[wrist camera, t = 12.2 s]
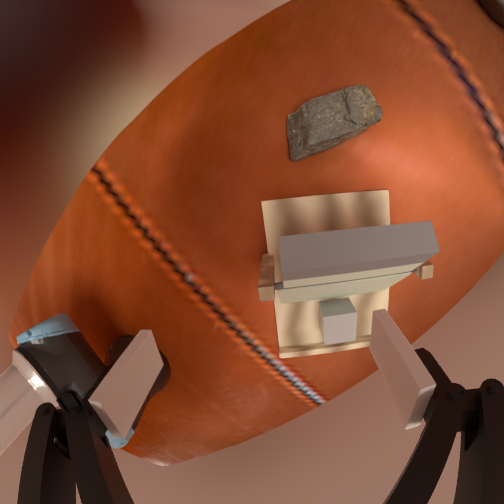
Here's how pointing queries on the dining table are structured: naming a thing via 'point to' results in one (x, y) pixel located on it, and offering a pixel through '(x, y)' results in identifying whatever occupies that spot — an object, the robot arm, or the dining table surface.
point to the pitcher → (494, 9)
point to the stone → (337, 321)
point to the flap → (352, 259)
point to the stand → (307, 312)
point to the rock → (331, 120)
